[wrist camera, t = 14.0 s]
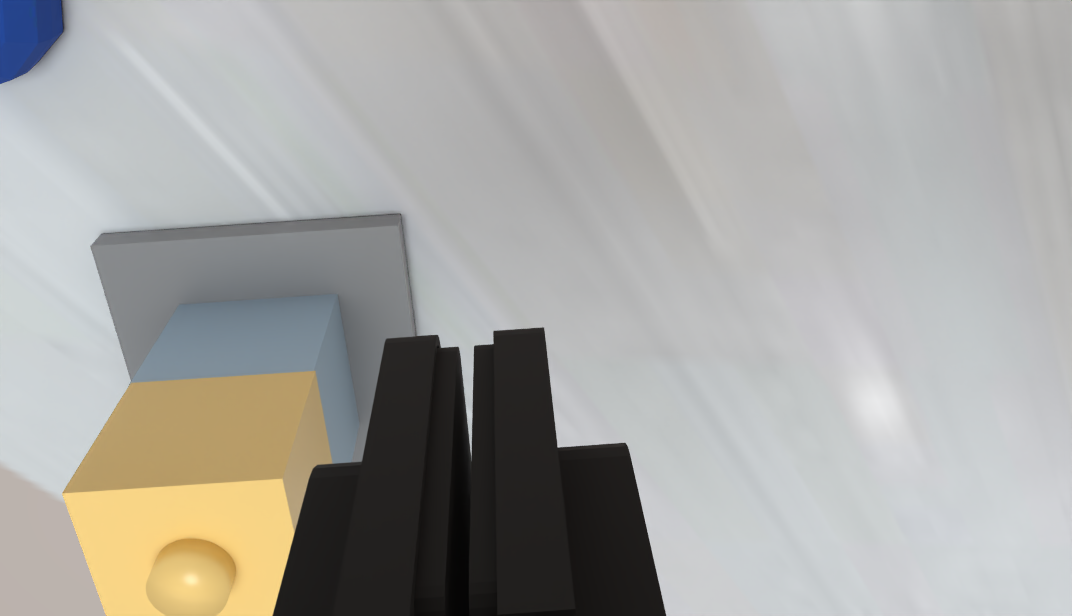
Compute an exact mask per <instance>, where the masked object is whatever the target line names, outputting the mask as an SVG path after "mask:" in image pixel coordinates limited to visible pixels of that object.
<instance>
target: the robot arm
mask: <svg viewBox="0 0 1072 616" xmlns="http://www.w3.org/2000/svg"><path fill="white" fill-rule="evenodd" d="M273 616H666V613H665V609H664V604H663V600H662V595H661V591H660V586H659V582H658V577H657V573H656V568H655V564H654V559H653V555H652V551H651V546H650V542H649V537H648V533H647V528H646V524H645V519H644V515H643V510H642V506H641V501H640V497H639V492H638V488H637V484H636V479H635V475H634V470H633V466H632V461H631V457H630V453H629V449H628V446H627V445H626V443H617V444H603V445H588V446H574V447H560V448H557V439H556V430H555V421H554V412H553V403H552V394H551V385H550V376H549V367H548V358H547V350H546V341H545V332H544V328H530V329H515V330H501V331H494V344H492V345H477V346H474V376H473V420H472V462H471V453H470V443H469V434H468V424H467V415H466V405H465V396H464V386H463V377H462V367H461V358H460V351H459V347H448V348H441V346H440V341H439V337H438V335H428V336H414V337H399V338H387V339H386V340H385V343H384V349H383V354H382V359H381V364H380V370H379V375H378V380H377V385H376V390H375V396H374V401H373V406H372V411H371V417H370V422H369V427H368V432H367V437H366V443H365V448H364V453H363V458H362V462H349V463H335V464H321V465H316V466H315V467H314V468H313V469H312V472H311V475H310V477H309V480H308V484H307V488H306V492H305V495H304V499H303V503H302V507H301V510H300V514H299V518H298V522H297V525H296V529H295V533H294V537H293V541H292V544H291V548H290V552H289V556H288V559H287V563H286V567H285V571H284V574H283V578H282V582H281V586H280V589H279V593H278V597H277V601H276V604H275V608H274V612H273Z"/></svg>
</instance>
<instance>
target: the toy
mask: <svg viewBox="0 0 1072 616" xmlns="http://www.w3.org/2000/svg"><path fill="white" fill-rule="evenodd" d="M62 32H63V24H62V7H61V0H0V84H1V83H4V82H7V81H10V80H12V79H15V78H17V77H19V76H21V75H23V74H25V73H27V72H28V71H29V70H30V69H31V68H32V67H33V66H34V65H35V64H36V63H37V62H38V61H39V60H40V59H41V58H42V57H43V55H44V54H45V53H46V52H47V51H48V49H49V48H50V47H51V46H52V44H53V43H54V42H55V41H56V40H57V38H58V37H59V36H60V35H61V34H62Z"/></svg>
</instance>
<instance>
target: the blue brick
mask: <svg viewBox="0 0 1072 616" xmlns="http://www.w3.org/2000/svg"><path fill="white" fill-rule="evenodd" d="M305 371H316V377H317V382H318V387H319V393H320V398H321V404H322V409H323V414H324V420H325V425H326V430H327V436H328V441H329V447H330V452H331V457H332V463H333V464H335V463H349V462H352V458H353V453H354V448H355V443H356V439H357V434H358V429H359V424H360V423H359V417H358V412H357V406H356V400H355V394H354V388H353V382H352V376H351V371H350V365H349V359H348V353H347V347H346V341H345V335H344V330H343V324H342V318H341V312H340V306H339V300H338V294H328V295H313V296H298V297H284V298H269V299H254V300H239V301H225V302H210V303H195V304H181V305H179V306H178V307H177V309H176V310H175V312H174V314H173V315H172V317H171V318H170V320H169V322H168V323H167V325H166V326H165V328H164V330H163V331H162V333H161V334H160V336H159V338H158V339H157V341H156V342H155V344H154V346H153V347H152V349H151V350H150V352H149V354H148V355H147V357H146V358H145V360H144V362H143V363H142V365H141V366H140V368H139V370H138V371H137V373H136V374H135V376H134V378H133V379H132V381H131V382H130V384H131V383H135V382H151V381H166V380H182V379H197V378H212V377H228V376H243V375H258V374H274V373H289V372H305ZM130 384H129V385H130Z"/></svg>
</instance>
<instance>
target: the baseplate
mask: <svg viewBox="0 0 1072 616" xmlns="http://www.w3.org/2000/svg"><path fill="white" fill-rule="evenodd" d="M91 250H92V253H93V256H94V260H95V263H96V266H97V269H98V273H99V276H100V279H101V283H102V286H103V289H104V293H105V296H106V299H107V303H108V306H109V309H110V313H111V316H112V319H113V322H114V326H115V329H116V332H117V336H118V339H119V342H120V346H121V349H122V352H123V356H124V359H125V362H126V366H127V369H128V372H129V375H130V379H131V381H132V379H133V378H134V376H135V374H136V373H137V371H138V370H139V368H140V366H141V365H142V363H143V362H144V360H145V358H146V357H147V355H148V354H149V352H150V350H151V349H152V347H153V346H154V344H155V342H156V341H157V339H158V338H159V336H160V334H161V333H162V331H163V330H164V328H165V326H166V325H167V323H168V322H169V320H170V318H171V317H172V315H173V314H174V312H175V310H176V309H177V307H178V306H179V305H181V304H195V303H210V302H225V301H239V300H254V299H269V298H284V297H298V296H313V295H328V294H338V300H339V306H340V312H341V318H342V324H343V330H344V335H345V341H346V347H347V353H348V359H349V365H350V371H351V376H352V382H353V388H354V394H355V400H356V406H357V412H358V417H359V423H360V424H359V429H358V434H357V439H356V443H355V448H354V453H353V458H352V462H362V458H363V453H364V448H365V443H366V437H367V432H368V427H369V422H370V417H371V411H372V406H373V401H374V396H375V390H376V385H377V380H378V375H379V370H380V364H381V359H382V354H383V349H384V343H385V340H386V339H387V338H399V337H414V336H416V330H415V322H414V315H413V307H412V299H411V291H410V284H409V276H408V268H407V261H406V253H405V245H404V237H403V230H402V222H401V214H393V215H378V216H363V217H348V218H333V219H318V220H303V221H288V222H273V223H258V224H243V225H228V226H213V227H198V228H183V229H168V230H153V231H138V232H122V233H107V234H101V235H100V236H99V237H98V238H97V239H96V241H95V242H94V243H93V244H92V245H91Z"/></svg>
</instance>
